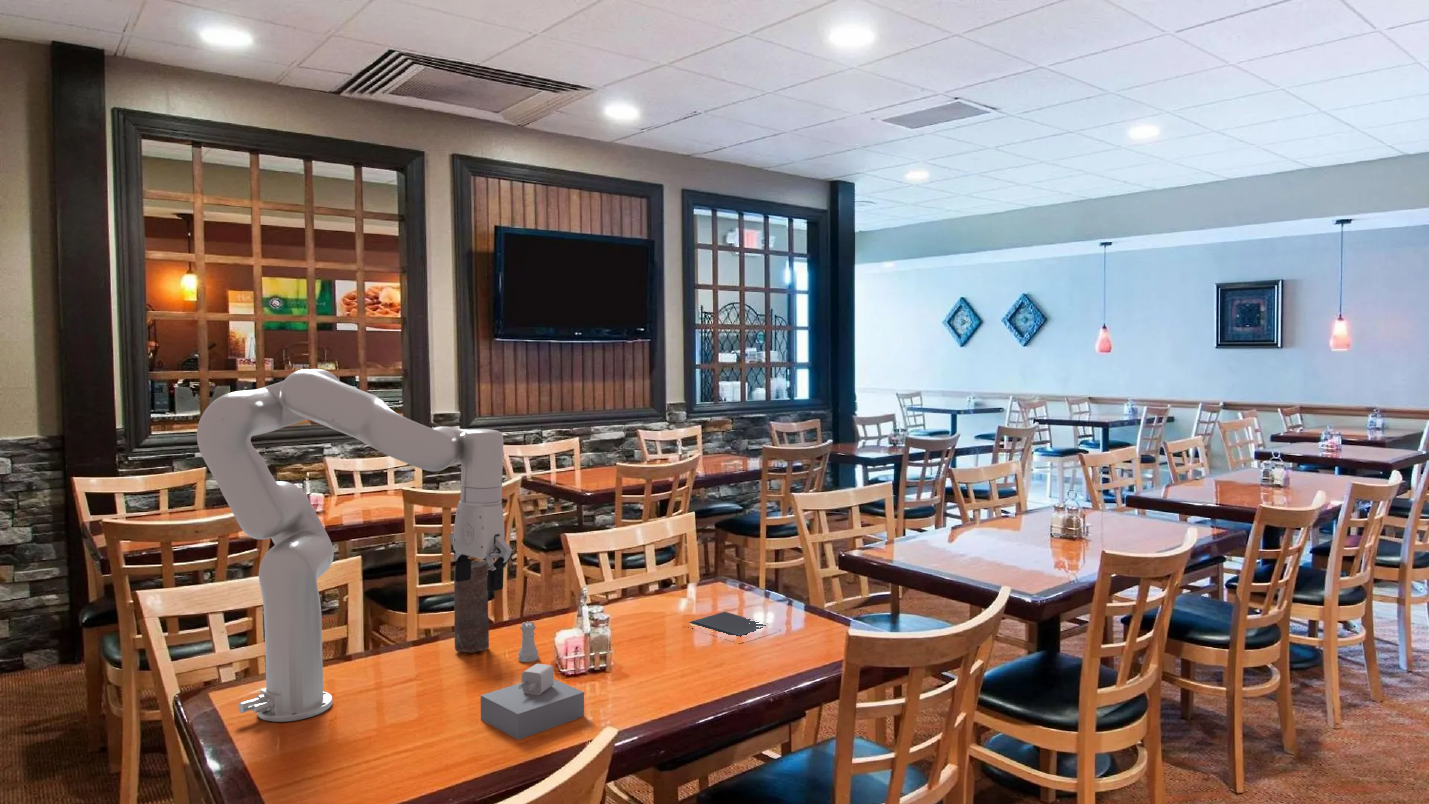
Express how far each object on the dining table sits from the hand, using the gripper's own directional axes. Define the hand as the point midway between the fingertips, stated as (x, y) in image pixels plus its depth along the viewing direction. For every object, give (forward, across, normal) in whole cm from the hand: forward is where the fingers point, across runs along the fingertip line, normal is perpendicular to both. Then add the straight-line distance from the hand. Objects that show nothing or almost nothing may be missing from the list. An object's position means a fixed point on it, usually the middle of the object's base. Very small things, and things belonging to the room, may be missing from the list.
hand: (478, 585), depth 168 cm
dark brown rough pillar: (+23, -24, +17) cm, 37 cm away
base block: (+22, +15, +2) cm, 27 cm away
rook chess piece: (+22, -10, +21) cm, 32 cm away
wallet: (+21, +11, +66) cm, 70 cm away
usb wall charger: (+18, +14, +2) cm, 23 cm away
